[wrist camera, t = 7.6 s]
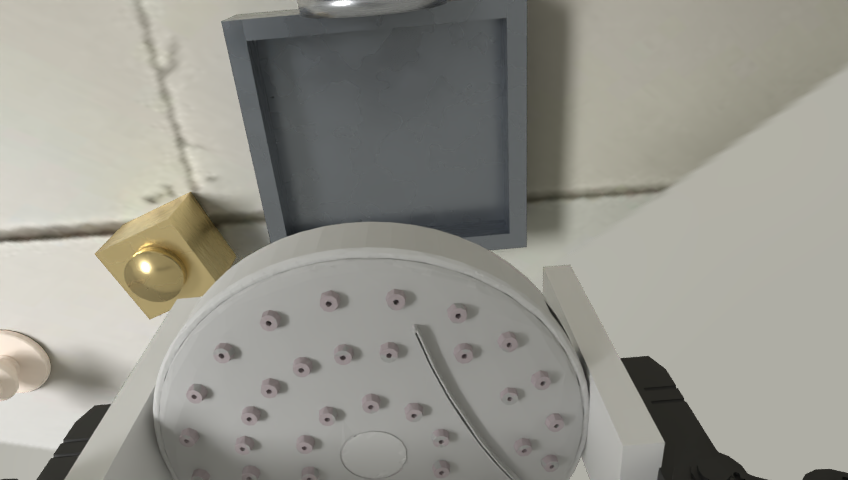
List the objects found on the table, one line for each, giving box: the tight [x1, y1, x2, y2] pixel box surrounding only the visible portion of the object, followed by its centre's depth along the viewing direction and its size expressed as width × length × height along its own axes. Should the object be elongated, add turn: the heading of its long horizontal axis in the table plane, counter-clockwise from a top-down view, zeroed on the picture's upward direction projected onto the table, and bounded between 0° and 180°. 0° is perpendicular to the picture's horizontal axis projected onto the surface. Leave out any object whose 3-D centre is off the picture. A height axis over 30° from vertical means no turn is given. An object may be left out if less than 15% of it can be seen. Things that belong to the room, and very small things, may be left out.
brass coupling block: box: [95, 192, 236, 319], centre depth 35 cm, size 5×5×5 cm
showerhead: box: [153, 222, 589, 480], centre depth 15 cm, size 9×7×10 cm
